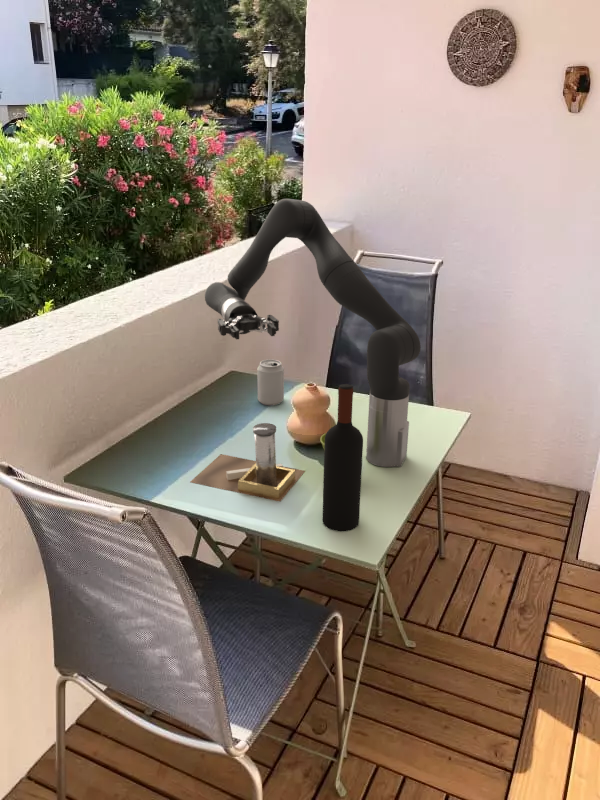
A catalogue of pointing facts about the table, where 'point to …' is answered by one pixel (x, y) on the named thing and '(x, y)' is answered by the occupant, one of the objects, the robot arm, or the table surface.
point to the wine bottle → (342, 468)
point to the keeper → (266, 490)
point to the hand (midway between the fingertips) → (255, 333)
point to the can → (270, 382)
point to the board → (217, 478)
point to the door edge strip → (240, 473)
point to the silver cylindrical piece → (265, 453)
